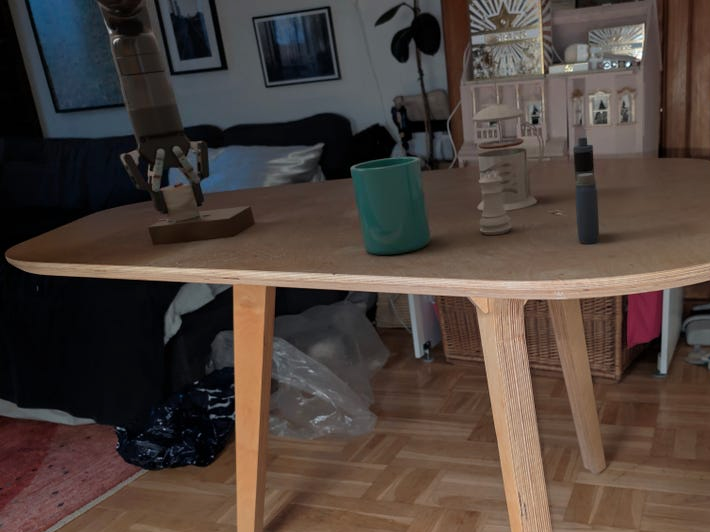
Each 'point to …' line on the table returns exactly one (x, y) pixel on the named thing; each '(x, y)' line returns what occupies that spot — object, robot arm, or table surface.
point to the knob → (180, 202)
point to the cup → (391, 205)
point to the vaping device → (586, 193)
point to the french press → (507, 153)
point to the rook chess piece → (493, 206)
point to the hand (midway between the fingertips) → (181, 209)
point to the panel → (203, 226)
